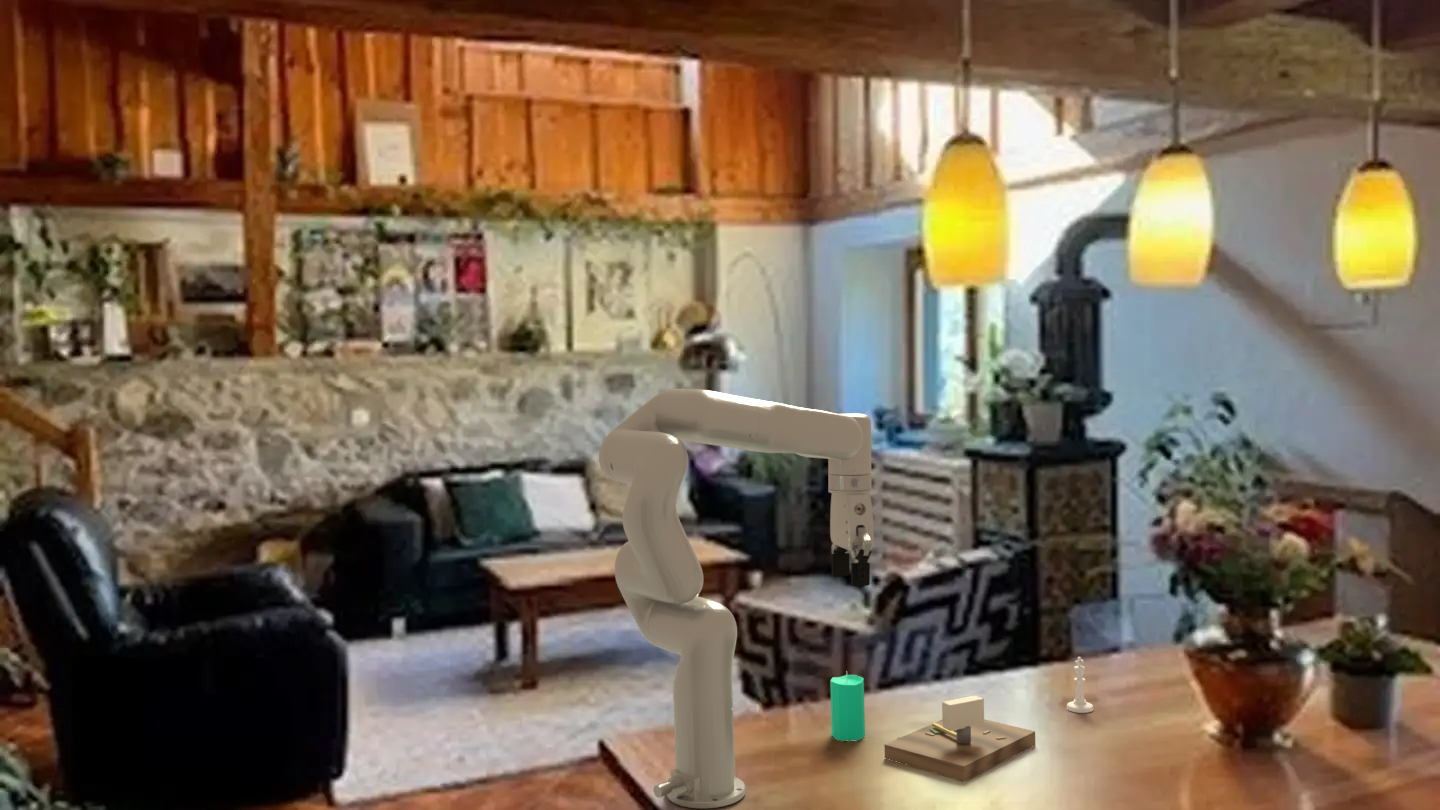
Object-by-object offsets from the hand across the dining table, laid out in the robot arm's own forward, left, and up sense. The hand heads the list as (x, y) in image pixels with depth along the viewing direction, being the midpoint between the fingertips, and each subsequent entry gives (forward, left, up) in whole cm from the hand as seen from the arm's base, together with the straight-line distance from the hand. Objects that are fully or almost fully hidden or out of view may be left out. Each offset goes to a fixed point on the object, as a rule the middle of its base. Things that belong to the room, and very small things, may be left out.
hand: (850, 580), depth 214 cm
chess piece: (+42, -21, -30) cm, 56 cm away
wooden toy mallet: (+8, -15, -27) cm, 32 cm away
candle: (+2, +3, -30) cm, 30 cm away
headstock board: (+8, -17, -29) cm, 35 cm away
